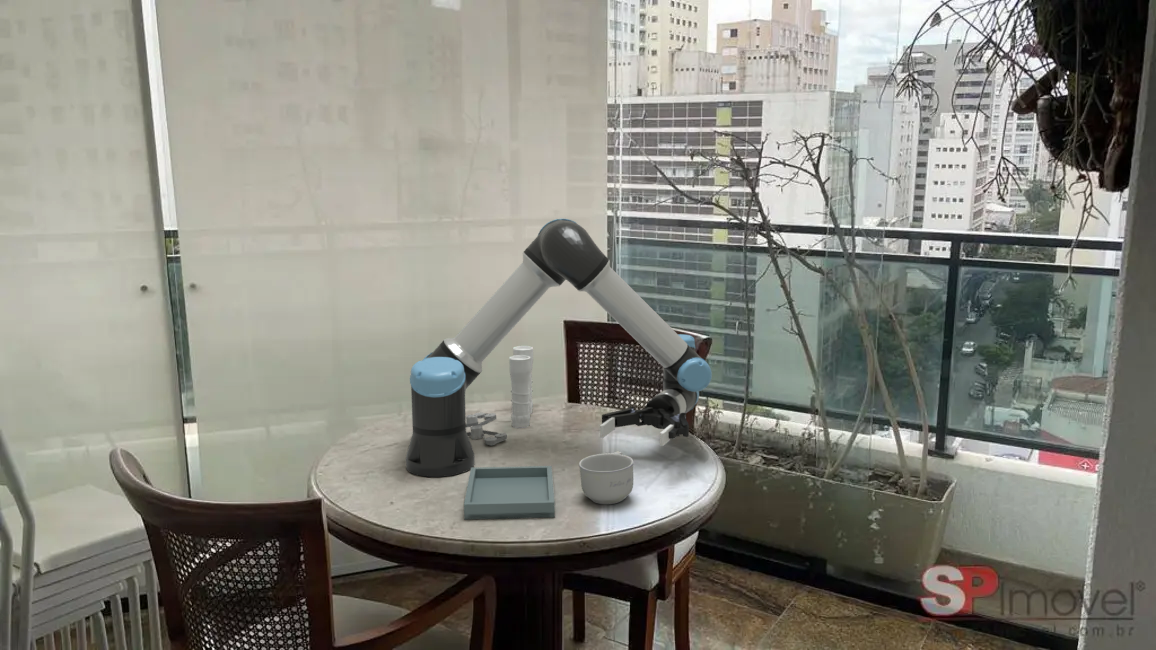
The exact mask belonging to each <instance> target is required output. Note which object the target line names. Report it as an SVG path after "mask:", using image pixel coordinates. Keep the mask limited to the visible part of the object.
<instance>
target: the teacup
mask: <svg viewBox="0 0 1156 650" xmlns="http://www.w3.org/2000/svg"><path fill="white" fill-rule="evenodd" d="M578 466H579V473H580V475H579V477H580V484H581V485H580V486H581V491H582V493H583V494H584V495H585V496H586V497H587V498H588V499H590V500H591V501H592V502H594V503H596V504H600V505H614V504H618V503H621V502H622V501H624V500H625V499H626V498H627V497H628V496H629V495H630V494H631V492H632V491H633V488H634V460H633V458H632V457H630V456H628V455H625V454H623V453H622V452H621V451H618V450H617V451H614V452H613V453H611V452H610V453H609V452H607V453H598V454H597V453H596V454H592V455H589V456H586V457H584V458H582V459H581V460H579V463H578Z"/></svg>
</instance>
